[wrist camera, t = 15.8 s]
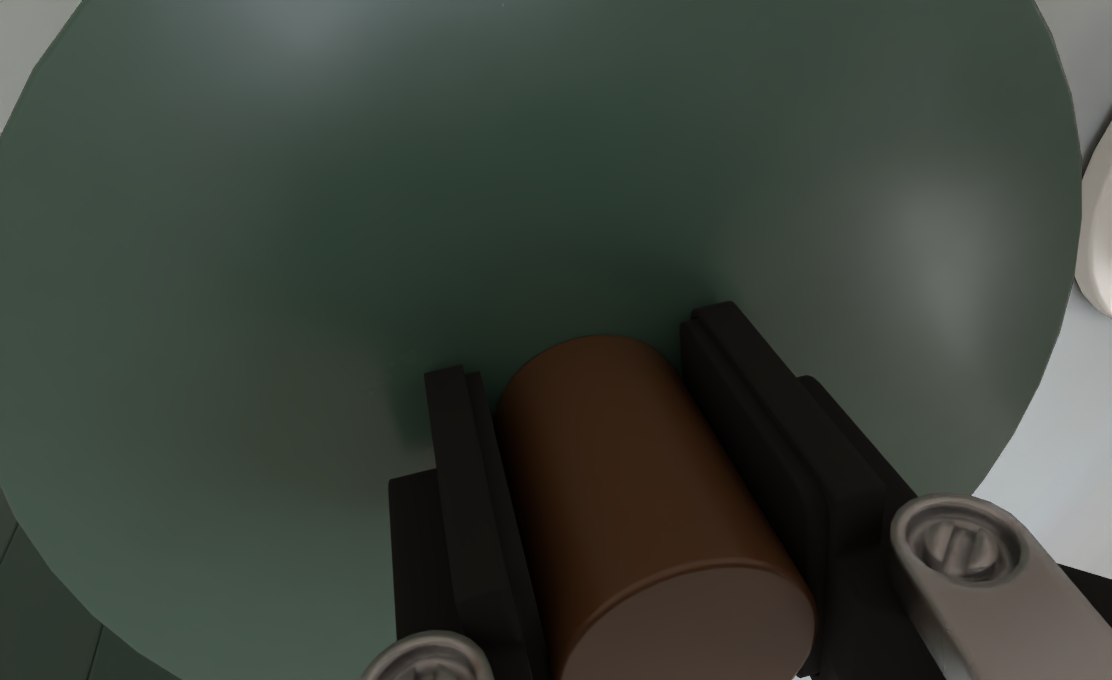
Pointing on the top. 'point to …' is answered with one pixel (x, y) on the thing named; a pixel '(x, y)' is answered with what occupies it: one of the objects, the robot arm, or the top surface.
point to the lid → (504, 298)
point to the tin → (54, 623)
